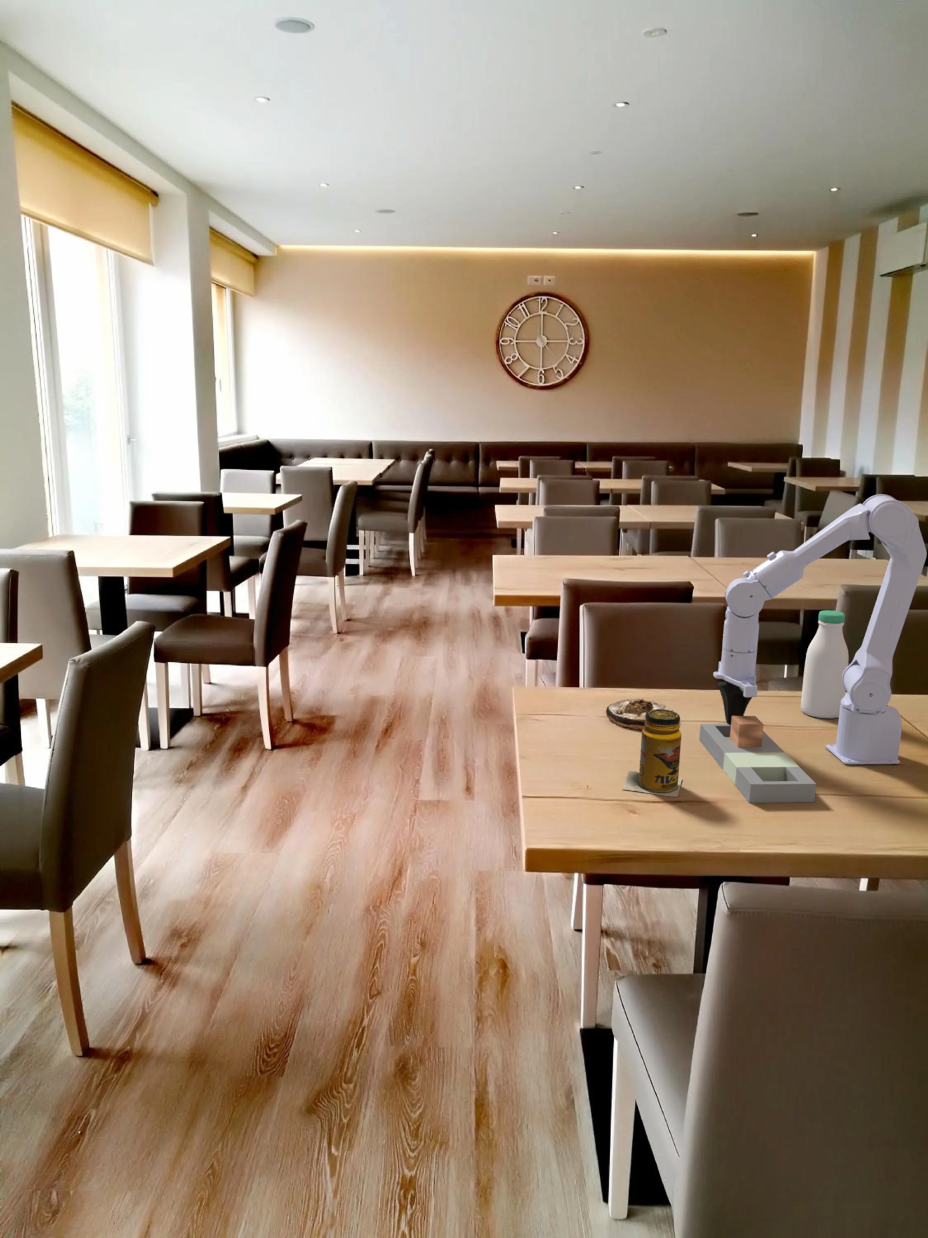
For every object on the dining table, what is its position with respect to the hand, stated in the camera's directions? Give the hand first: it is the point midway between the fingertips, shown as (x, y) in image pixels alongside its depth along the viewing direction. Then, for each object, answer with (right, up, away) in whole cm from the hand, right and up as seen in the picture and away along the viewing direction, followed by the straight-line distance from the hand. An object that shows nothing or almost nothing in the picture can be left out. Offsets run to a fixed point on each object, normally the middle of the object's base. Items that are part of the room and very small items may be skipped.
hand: (733, 723), depth 163 cm
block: (0, -2, -6) cm, 7 cm away
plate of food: (-14, -1, +14) cm, 19 cm away
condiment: (-17, -8, -16) cm, 25 cm away
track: (0, -6, -9) cm, 11 cm away
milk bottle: (+22, 0, +18) cm, 29 cm away
